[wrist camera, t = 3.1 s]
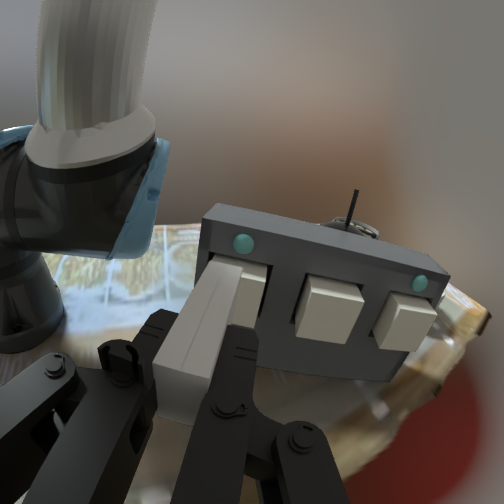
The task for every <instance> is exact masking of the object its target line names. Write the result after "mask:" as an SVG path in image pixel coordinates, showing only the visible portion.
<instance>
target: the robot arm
mask: <svg viewBox="0 0 504 504" xmlns="http://www.w3.org/2000/svg"><path fill="white" fill-rule="evenodd" d="M156 4H157V0H42V3H41V9H40V16H39V24H38V34H37V48H36V95H37V110H38V121H37V122H36V124H35V125H28V126H21V127H15V128H10V129H6V130H3V131H0V352H1V353H15V352H21V351H24V350H27V349H30V348H32V347H34V346H36V345H38V344H40V343H41V342H43V341H44V340H46V339H47V338H48V337H49V336H50V335H51V334H52V333H53V332H54V331H55V330H56V328H57V327H58V325H59V323H60V321H61V319H62V315H63V304H62V299H61V294H60V290H59V288H58V286H57V284H56V282H55V281H54V280H53V279H52V277H51V274H50V272H49V269H48V267H47V265H46V263H45V261H44V258H43V256H42V252H45V253H54V254H63V255H72V256H81V257H90V258H100V259H105V260H112V259H113V258H114V259H136V258H139V257H141V256H143V255H144V254H145V253H146V251H147V250H148V248H149V245H150V241H151V237H152V232H153V227H154V222H155V217H156V212H157V206H158V201H159V195H160V192H161V186H162V183H163V179H164V175H165V171H166V166H167V162H168V157H169V153H170V144H169V142H168V141H165V140H163V139H160V138H155V128H156V123H155V118H154V116H153V115H152V114H151V113H150V112H149V111H148V110H147V109H146V108H145V107H144V106H143V105H142V104H141V103H140V94H141V86H142V77H143V70H144V64H145V58H146V52H147V46H148V41H149V36H150V31H151V26H152V21H153V17H154V12H155V8H156ZM242 269H243V267H238V266H234V265H229V264H225V263H220V262H215V261H211V260H210V262H209V263H208V265H207V267H206V268H205V270H204V272H203V273H202V275H201V277H200V279H199V280H198V282H197V284H196V285H195V287H194V289H193V291H192V292H191V294H190V296H189V298H188V299H187V301H186V303H185V305H184V306H183V308H182V310H181V312H180V313H175V312H171V311H168V310H164V309H160V310H158V311H156V312H154V313H153V314H151V315H150V316H149V318H148V319H147V321H146V322H145V324H144V325H143V326H142V328H141V329H140V331H139V333H138V334H137V335H136V337H135V338H134V339H133V341H132V342H130V341H127V340H122V339H117V340H110V341H107V342H105V343H103V344H102V345H100V346H99V347H98V348H97V349H98V354H99V358H100V362H101V366H102V369H90V368H83V367H76V366H75V364H74V361H73V360H72V359H71V357H70V356H68V355H66V354H64V353H60V352H52V353H48V354H46V355H44V356H42V357H41V358H39V359H38V360H36V361H35V362H34V363H32V364H31V365H30V366H28V367H27V368H26V369H24V370H23V371H22V372H20V373H19V374H17V375H16V376H15V377H13V378H12V379H11V380H9V381H8V382H7V383H6V384H4V385H3V386H2V387H0V504H14V503H15V502H16V501H17V500H18V499H19V498H20V497H21V496H22V495H23V494H24V493H25V492H26V491H27V490H28V489H29V488H30V489H29V491H28V493H27V495H26V496H25V498H24V500H23V503H22V504H123V503H124V501H125V498H126V495H127V493H128V490H129V488H130V485H131V482H132V480H133V477H134V475H135V472H136V470H137V467H138V464H139V462H140V459H141V457H142V454H143V452H144V449H145V447H146V444H147V442H148V439H149V437H150V434H151V432H152V428H153V421H152V419H153V417H154V414H155V412H156V410H157V414H158V416H159V417H162V418H165V419H168V420H171V421H175V422H178V423H182V424H185V425H189V426H192V427H193V429H192V433H191V436H190V439H189V443H188V446H187V449H186V452H185V456H184V459H183V462H182V466H181V469H180V472H179V476H178V479H177V482H176V485H175V489H174V492H173V495H172V499H171V502H170V504H239V500H240V494H241V488H242V481H243V474H245V475H247V476H250V477H252V478H254V479H255V481H256V486H257V492H258V497H259V502H260V504H350V502H349V499H348V496H347V494H346V491H345V488H344V486H343V482H342V480H341V477H340V474H339V471H338V469H337V466H336V463H335V460H334V458H333V455H332V452H331V449H330V447H329V444H328V441H327V438H326V436H325V435H324V433H323V432H322V430H321V429H319V428H318V427H317V426H315V425H314V424H311V423H308V422H305V421H294V422H290V423H287V424H286V425H283V424H281V423H278V422H276V421H274V420H271V419H269V418H267V417H266V416H264V415H263V414H262V413H260V412H259V411H258V409H257V408H256V407H255V405H254V402H253V398H252V393H253V385H254V378H255V370H256V361H257V354H258V346H259V339H258V337H257V335H256V332H255V330H251V329H246V328H241V327H236V326H232V325H231V324H232V320H233V316H234V311H235V306H236V301H237V295H238V290H239V285H240V280H241V275H242Z"/></svg>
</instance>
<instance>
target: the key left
mask: <svg viewBox="0 0 504 504" xmlns="http://www.w3.org/2000/svg"><path fill="white" fill-rule="evenodd" d="M211 261H215V262H220V263H225V264H229V265H234V266H238V267H243V269H242V275H241V280H240V285H239V290H238V295H237V301H236V306H235V311H234V316H233V320H232V324H236V325H241V326H245V327H250V328H254V325H255V322H256V318H257V314H258V310H259V306H260V302H261V298H262V294H263V290H264V286H265V282H266V273H267V265H268V264H265V263H260V262H256V261H251V260H247V259H242V258H238V257H233V256H229V255H224V254H219V253H215V255H214V257H213V259H212V260H211Z"/></svg>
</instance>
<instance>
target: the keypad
mask: <svg viewBox="0 0 504 504" xmlns="http://www.w3.org/2000/svg"><path fill="white" fill-rule="evenodd" d="M215 253H219V254H224V255H229V256H233V257H238V258H242V259H247V260H251V261H256V262H260V263H265V264H268V265H267V273H266V282H265V286H264V290H263V294H262V298H261V302H260V306H259V310H258V314H257V318H256V322H255V325H254V328H250V327H245V326H241V325H236V324H231V325H232V326H236V327H241V328H246V329H251V330H255V332H256V335H257V337H258V339H259V346H258V354H257V361H256V366H260V367H265V368H271V369H276V370H282V371H288V372H295V373H302V374H309V375H317V376H325V377H334V378H343V379H355V380H368V381H386V382H390V381H391V380H392V378H393V377H394V375H395V374H396V372H397V371H398V370H399V368H400V367H401V365H402V364H403V362H404V361H405V359H406V358H407V356H408V355H409V353H410V351H398V350H388V349H379V347H378V344H377V342H376V339H375V336H374V334H373V331H372V327H373V325H374V323H375V321H376V319H377V317H378V315H379V313H380V311H381V309H382V307H383V305H384V303H385V300H386V298H387V296H388V294H389V292H390V290H392V291H397V292H402V293H407V294H412V295H417V296H422V297H425V298H426V300H427V301H428V302H429V304H430V305H431V306H432V308H433V309H434V310H435V308H436V306H437V304H438V302H439V300H440V298H441V296H442V294H443V292H444V290H445V288H446V286H447V284H448V281H449V279H450V277H451V276H450V275H449V274H448V273H447V272H446V271H445V270H444V269H443V268H442V267H441V266H440V265H439V264H438V263H437V262H436V261H434V259H432V258H431V257H430V256H429V255H428V254H425V253H422V252H419V251H415V250H412V249H408V248H405V247H401V246H397V245H394V244H390V243H387V242H383V241H379V240H376V239H372V238H368V237H364V236H360V235H356V234H353V233H349V232H345V231H341V230H337V229H333V228H329V227H325V226H320V225H316V224H312V223H307V222H304V221H299V220H295V219H291V218H286V217H282V216H277V215H273V214H268V213H264V212H259V211H254V210H249V209H245V208H240V207H235V206H230V205H225V204H220V203H217V204H216V205H215V206H214V207H213V208H212V209H211V210H210V211H209V212H208V213H207V214H205V215H204V217H203V218H202V224H201V231H200V239H199V247H198V255H197V264H196V273H195V282H194V287H195V285H196V284H197V282H198V280H199V279H200V277H201V275H202V273H203V272H204V270H205V268H206V267H207V265H208V263H209V262H210V260H212V259H213V257H214V255H215ZM307 273H311V274H316V275H321V276H325V277H330V278H335V279H340V280H344V281H349V282H354V283H356V285H357V287H358V289H359V291H360V293H361V295H362V298H363V300H364V305H363V307H362V309H361V311H360V313H359V316H358V318H357V320H356V322H355V324H354V326H353V328H352V330H351V332H350V335H349V337H348V339H347V341H346V343H345V344H339V343H332V342H326V341H319V340H313V339H307V338H301V337H296V330H295V310H296V307H297V304H298V301H299V298H300V295H301V292H302V289H303V285H304V282H305V279H306V276H307Z"/></svg>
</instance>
